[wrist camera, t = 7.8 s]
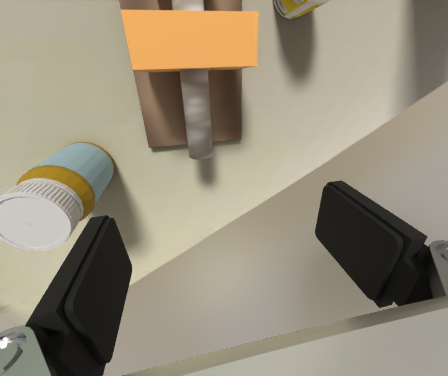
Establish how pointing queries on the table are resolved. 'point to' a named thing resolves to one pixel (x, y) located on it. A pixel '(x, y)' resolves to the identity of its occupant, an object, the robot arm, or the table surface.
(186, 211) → the table surface
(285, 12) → the supplement bottle
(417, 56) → the table surface
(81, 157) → the bottle
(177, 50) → the collar
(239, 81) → the pipe stand
